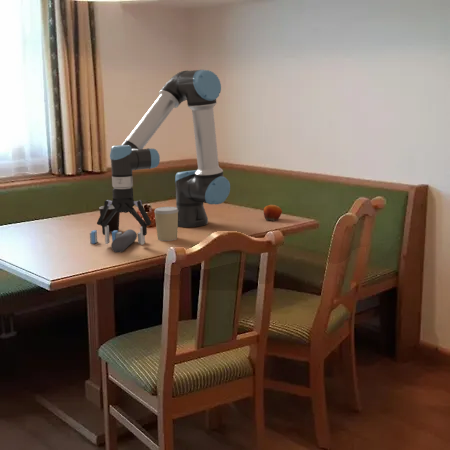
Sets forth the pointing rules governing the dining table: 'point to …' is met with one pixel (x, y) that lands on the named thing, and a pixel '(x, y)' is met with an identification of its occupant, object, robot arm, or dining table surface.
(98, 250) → the dining table surface
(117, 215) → the coffee mug
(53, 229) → the dining table surface
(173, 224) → the coffee cup
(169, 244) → the dining table surface
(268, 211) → the fruit
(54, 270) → the dining table surface
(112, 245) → the dark gray cylinder
